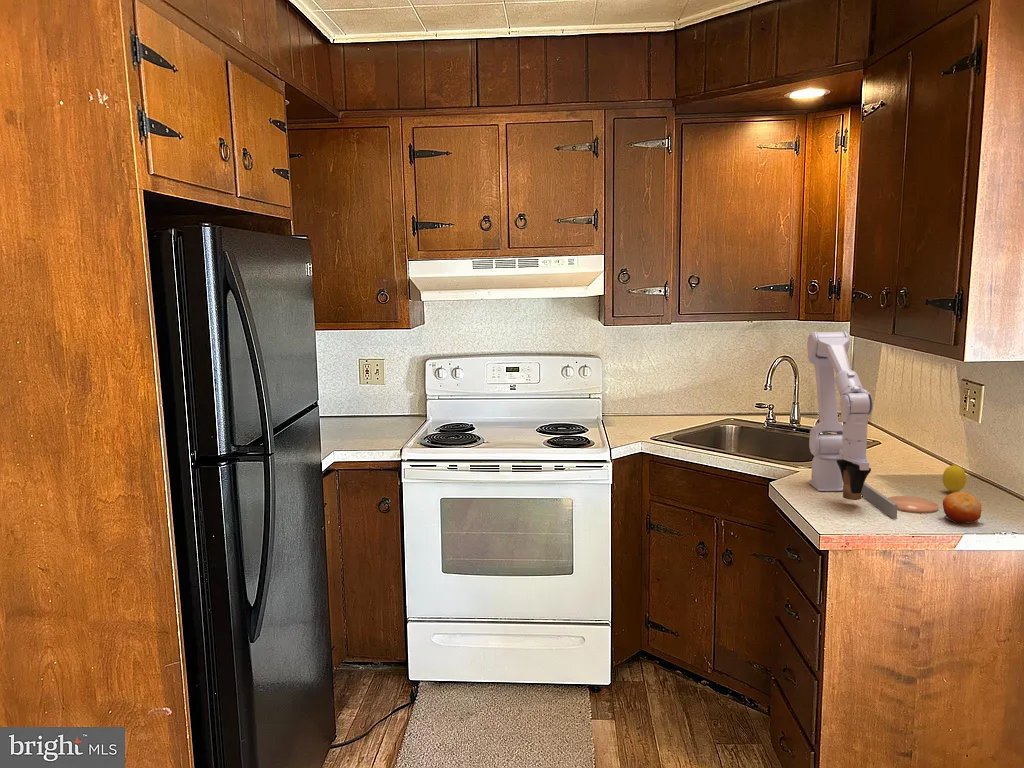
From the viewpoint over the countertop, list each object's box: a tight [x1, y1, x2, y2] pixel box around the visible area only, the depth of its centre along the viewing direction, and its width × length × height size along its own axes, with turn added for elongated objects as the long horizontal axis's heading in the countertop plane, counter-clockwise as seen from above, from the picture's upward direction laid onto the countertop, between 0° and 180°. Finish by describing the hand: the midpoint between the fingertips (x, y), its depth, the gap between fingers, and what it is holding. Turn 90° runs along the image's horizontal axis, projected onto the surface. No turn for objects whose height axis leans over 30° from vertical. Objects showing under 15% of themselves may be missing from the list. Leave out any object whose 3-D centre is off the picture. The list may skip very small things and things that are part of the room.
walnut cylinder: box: [842, 469, 862, 501], centre depth 190 cm, size 4×4×7 cm
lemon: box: [942, 463, 967, 493], centre depth 199 cm, size 6×6×8 cm
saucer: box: [887, 495, 939, 514], centre depth 190 cm, size 12×12×1 cm
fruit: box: [942, 491, 983, 525], centre depth 178 cm, size 8×8×8 cm
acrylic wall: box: [861, 482, 898, 520], centre depth 190 cm, size 20×1×4 cm, turn 176°
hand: (852, 490), depth 190 cm, fingers closed on walnut cylinder, 4 cm apart
